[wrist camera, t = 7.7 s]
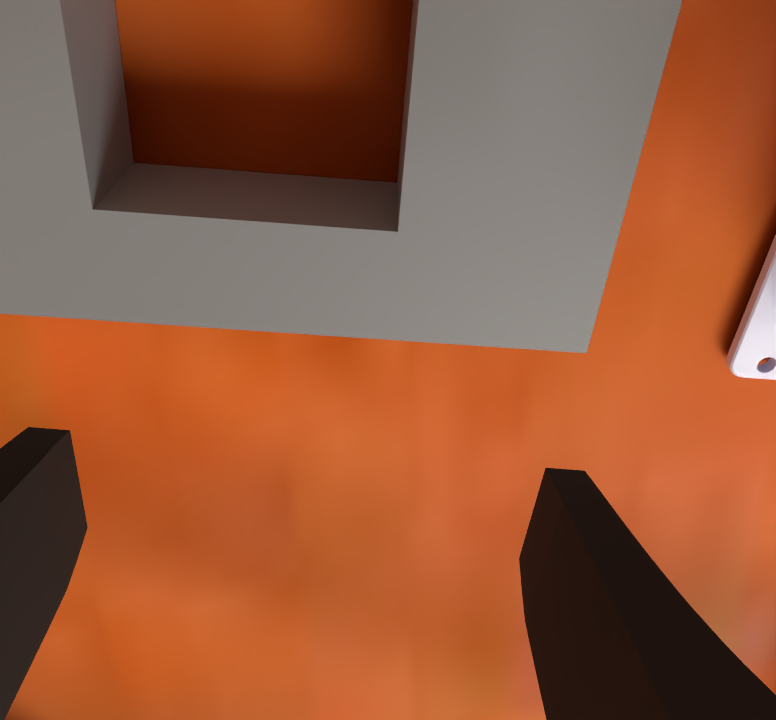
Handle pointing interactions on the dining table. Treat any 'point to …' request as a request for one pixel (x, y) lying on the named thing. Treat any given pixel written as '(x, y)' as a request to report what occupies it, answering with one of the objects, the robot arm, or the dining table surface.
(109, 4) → the holder
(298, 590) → the dining table surface
